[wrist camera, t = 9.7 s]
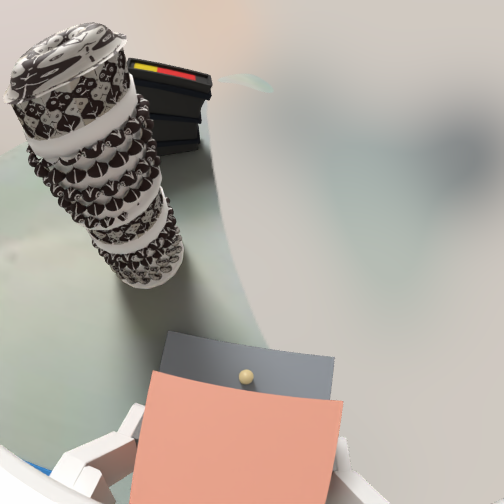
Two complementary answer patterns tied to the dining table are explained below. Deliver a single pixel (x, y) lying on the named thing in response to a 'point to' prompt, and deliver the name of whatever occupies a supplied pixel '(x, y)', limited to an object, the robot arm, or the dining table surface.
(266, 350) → the plate
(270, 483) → the salmon pink block
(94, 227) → the decorative candle
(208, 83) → the black ribbed casing
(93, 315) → the dining table surface
